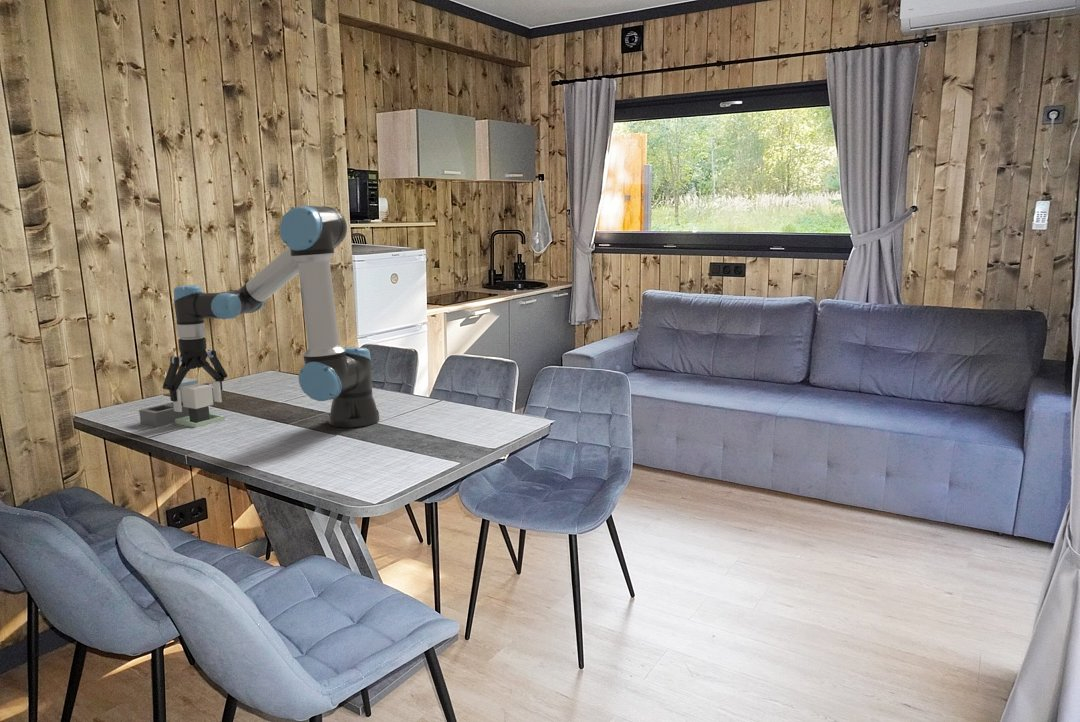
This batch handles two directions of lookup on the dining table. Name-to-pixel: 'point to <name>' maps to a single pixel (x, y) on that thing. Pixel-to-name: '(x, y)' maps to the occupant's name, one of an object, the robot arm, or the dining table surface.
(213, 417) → the tray
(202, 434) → the dining table surface
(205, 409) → the plug
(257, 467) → the dining table surface
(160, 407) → the strip
